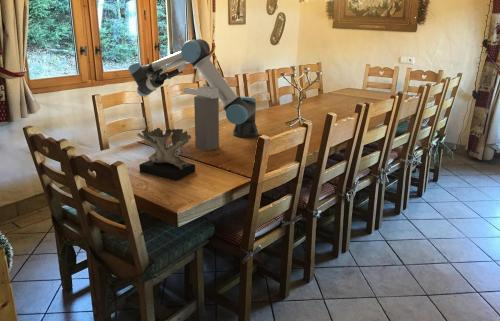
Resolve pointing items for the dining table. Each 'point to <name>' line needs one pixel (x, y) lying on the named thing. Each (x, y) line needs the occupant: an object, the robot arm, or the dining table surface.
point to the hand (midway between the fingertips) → (176, 65)
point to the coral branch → (175, 150)
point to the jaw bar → (203, 92)
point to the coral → (166, 155)
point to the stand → (206, 123)
